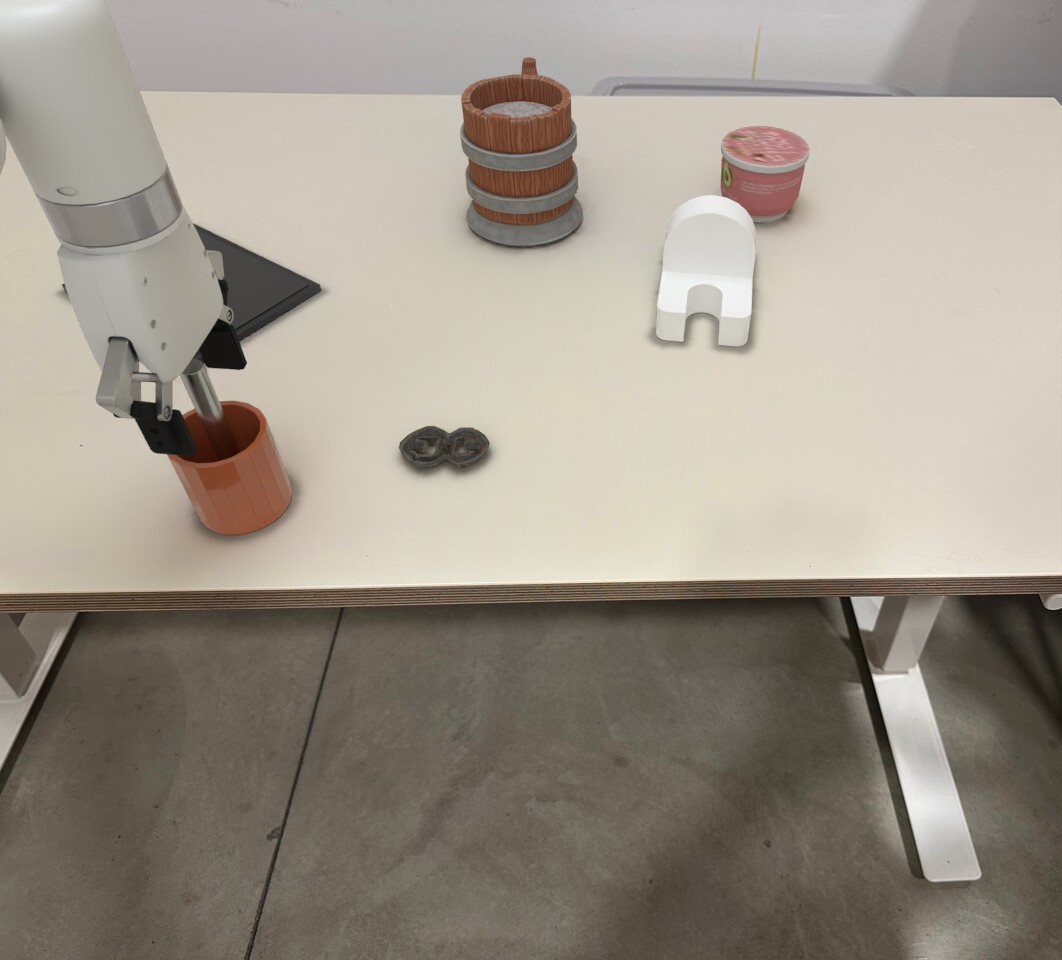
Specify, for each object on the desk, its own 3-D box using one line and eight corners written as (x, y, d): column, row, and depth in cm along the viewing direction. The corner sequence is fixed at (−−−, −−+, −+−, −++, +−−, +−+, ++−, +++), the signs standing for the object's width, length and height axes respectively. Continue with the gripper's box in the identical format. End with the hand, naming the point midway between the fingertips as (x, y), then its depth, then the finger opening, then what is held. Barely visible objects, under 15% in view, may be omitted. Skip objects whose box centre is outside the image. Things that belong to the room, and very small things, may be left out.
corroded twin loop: (487, 472, 79) (486, 464, 78) (396, 472, 78) (394, 463, 78) (493, 433, 82) (492, 425, 81) (405, 432, 82) (403, 424, 81)
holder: (239, 549, 72) (207, 482, 66) (178, 508, 75) (142, 440, 69) (311, 493, 77) (287, 425, 71) (251, 456, 79) (223, 388, 74)
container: (725, 180, 116) (731, 120, 110) (805, 193, 114) (815, 132, 108) (707, 220, 109) (712, 158, 103) (792, 234, 107) (802, 172, 101)
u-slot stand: (654, 339, 93) (659, 248, 85) (668, 245, 105) (673, 158, 97) (747, 347, 92) (760, 256, 84) (750, 252, 104) (762, 165, 97)
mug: (457, 246, 104) (440, 120, 93) (483, 166, 117) (470, 47, 106) (578, 251, 103) (574, 125, 93) (590, 171, 117) (588, 52, 106)
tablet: (197, 367, 88) (194, 359, 87) (64, 290, 96) (60, 283, 95) (321, 290, 97) (319, 283, 96) (190, 226, 105) (188, 220, 104)
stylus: (245, 506, 75) (187, 377, 64) (230, 497, 75) (172, 368, 65) (262, 493, 76) (208, 364, 66) (248, 484, 76) (193, 355, 66)
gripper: (118, 135, 62) (200, 335, 74) (-26, 277, 50) (99, 486, 62) (225, 142, 61) (289, 340, 74) (106, 285, 50) (205, 493, 62)
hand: (202, 407), depth 68 cm, fingers open, 9 cm apart
